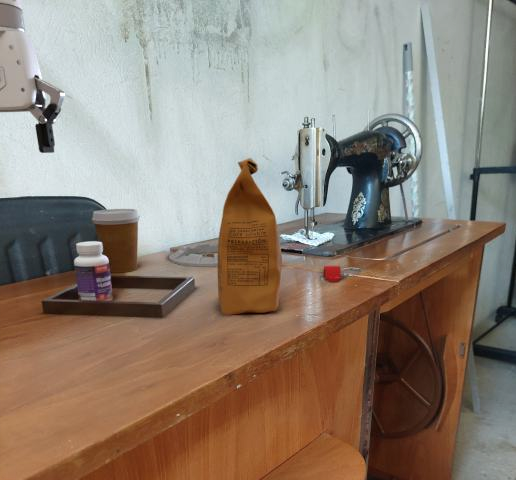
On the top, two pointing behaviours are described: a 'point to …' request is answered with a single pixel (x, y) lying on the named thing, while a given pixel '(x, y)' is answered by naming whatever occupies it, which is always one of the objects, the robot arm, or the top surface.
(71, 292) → the walnut frame
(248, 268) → the coffee package
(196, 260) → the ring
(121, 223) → the disposable coffee cup
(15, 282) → the top surface
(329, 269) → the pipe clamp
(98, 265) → the pill bottle
